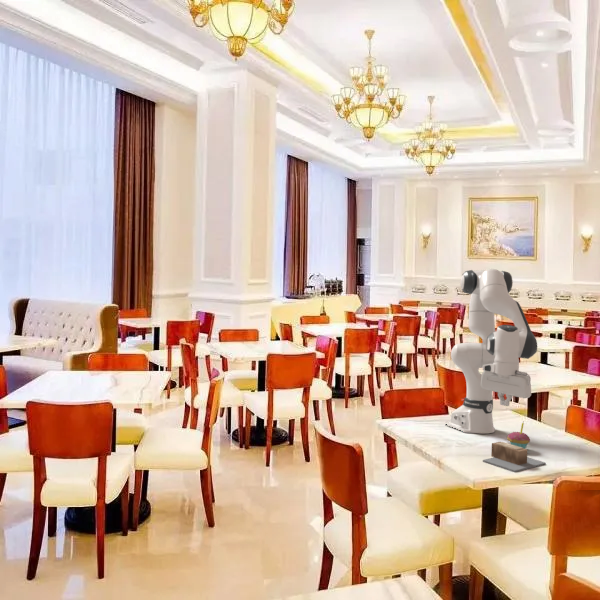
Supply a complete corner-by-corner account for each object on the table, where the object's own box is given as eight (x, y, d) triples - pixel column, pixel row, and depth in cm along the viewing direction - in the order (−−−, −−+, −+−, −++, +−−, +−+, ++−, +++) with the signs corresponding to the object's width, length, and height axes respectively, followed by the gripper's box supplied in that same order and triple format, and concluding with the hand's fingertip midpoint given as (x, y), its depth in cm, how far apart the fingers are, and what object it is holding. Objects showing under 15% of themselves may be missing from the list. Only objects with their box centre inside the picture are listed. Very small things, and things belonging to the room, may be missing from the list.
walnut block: (491, 442, 230) (519, 450, 220) (500, 440, 232) (527, 448, 223) (491, 456, 230) (518, 465, 220) (499, 454, 233) (527, 463, 223)
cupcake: (534, 451, 240) (535, 421, 240) (519, 454, 236) (520, 423, 235) (516, 445, 248) (517, 416, 247) (502, 448, 243) (503, 418, 243)
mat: (482, 461, 225) (482, 459, 225) (513, 454, 235) (513, 452, 235) (514, 472, 214) (514, 470, 214) (545, 464, 224) (545, 462, 224)
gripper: (535, 372, 220) (534, 410, 221) (489, 364, 237) (488, 399, 238) (525, 374, 217) (523, 412, 218) (479, 365, 234) (477, 400, 235)
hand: (504, 405), depth 228 cm, fingers closed
